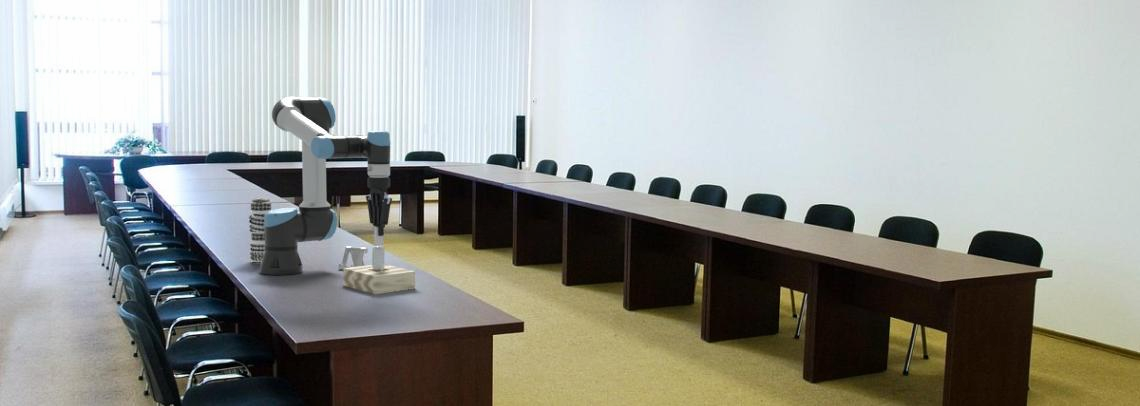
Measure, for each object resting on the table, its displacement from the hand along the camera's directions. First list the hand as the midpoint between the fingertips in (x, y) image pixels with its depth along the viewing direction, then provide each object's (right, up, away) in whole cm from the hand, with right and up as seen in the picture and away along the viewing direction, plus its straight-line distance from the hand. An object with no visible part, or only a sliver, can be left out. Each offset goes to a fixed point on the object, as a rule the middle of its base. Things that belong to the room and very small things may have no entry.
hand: (378, 245), depth 326 cm
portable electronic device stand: (-17, -11, +36) cm, 41 cm away
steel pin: (0, -15, +2) cm, 15 cm away
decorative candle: (-56, -9, +49) cm, 75 cm away
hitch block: (0, -15, +1) cm, 15 cm away
